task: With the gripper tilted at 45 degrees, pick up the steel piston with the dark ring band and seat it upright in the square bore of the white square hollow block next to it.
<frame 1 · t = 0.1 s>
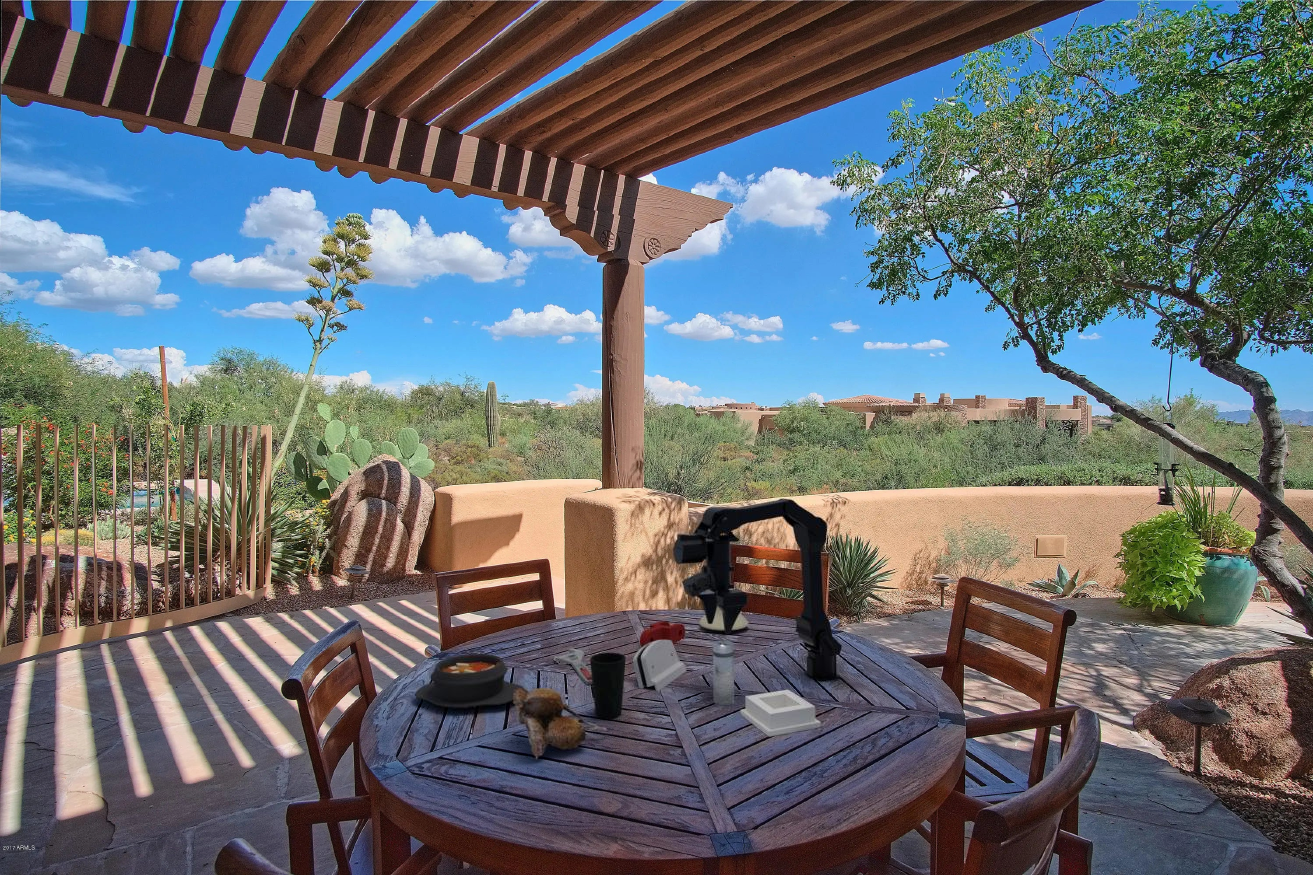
hand: (718, 628, 160), 15 cm above the table, tool pointing down, fingers open, 9 cm apart
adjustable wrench: (577, 670, 177), on the table
cup: (608, 714, 147), on the table
mechanical linkage: (659, 644, 199), on the table
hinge: (658, 679, 169), on the table
seed pod: (549, 747, 131), on the table
handbell: (723, 629, 214), on the table
casserole: (469, 700, 156), on the table
white square hollow block: (779, 720, 142), on the table
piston: (723, 701, 153), on the table
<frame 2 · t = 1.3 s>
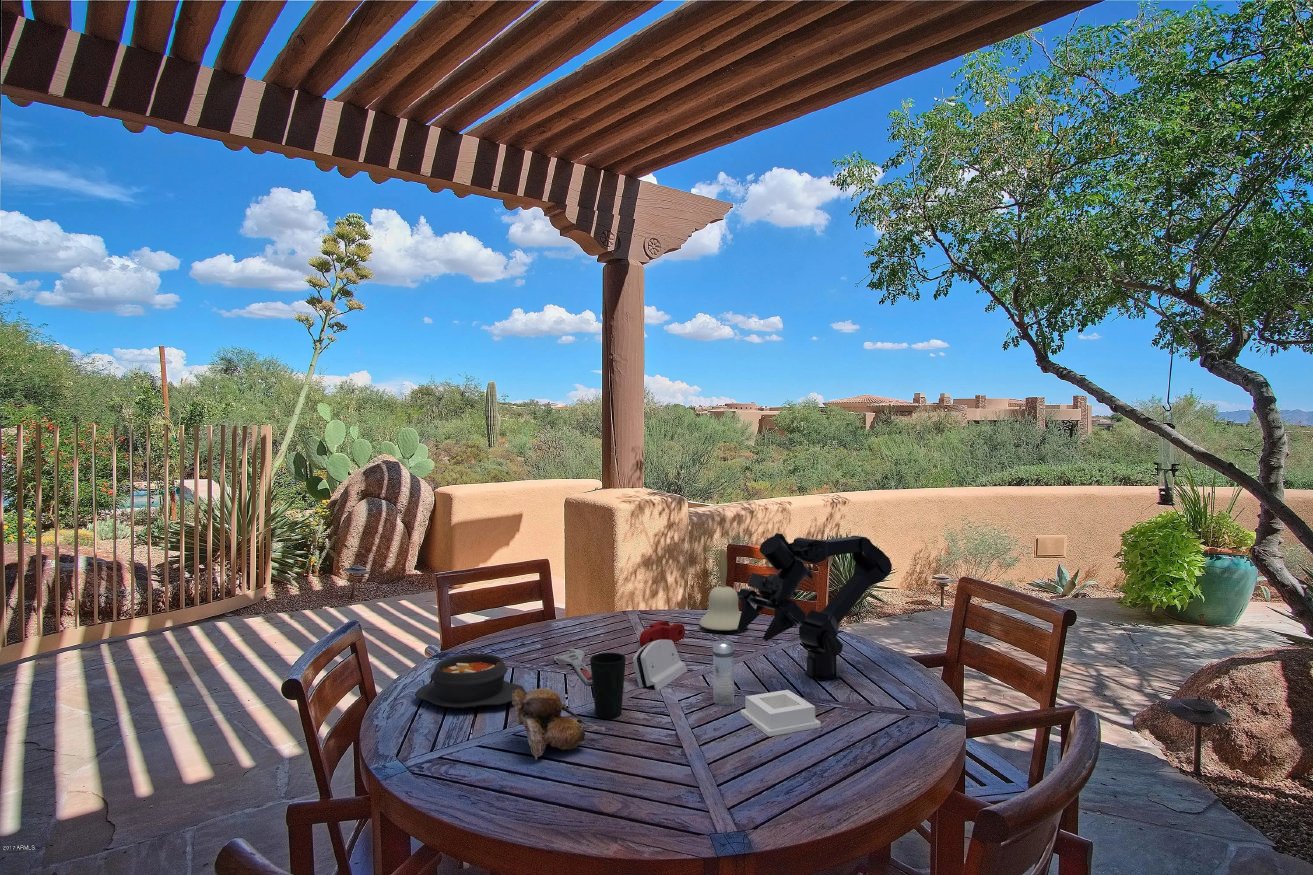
hand: (751, 635, 158), 14 cm above the table, tool tilted 45°, fingers open, 9 cm apart
nothing on the table moved.
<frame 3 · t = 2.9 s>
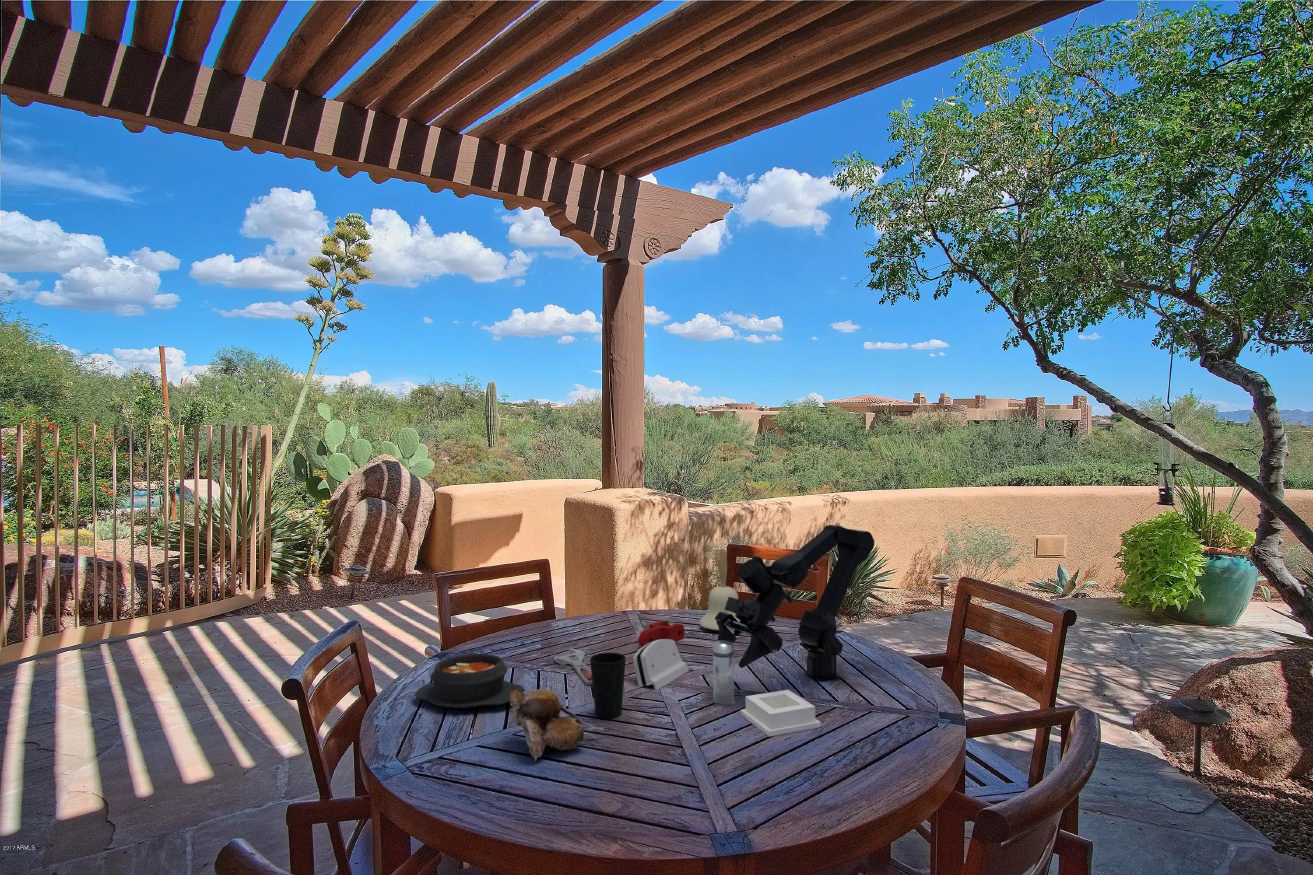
hand: (727, 660, 154), 9 cm above the table, tool tilted 45°, fingers open, 9 cm apart
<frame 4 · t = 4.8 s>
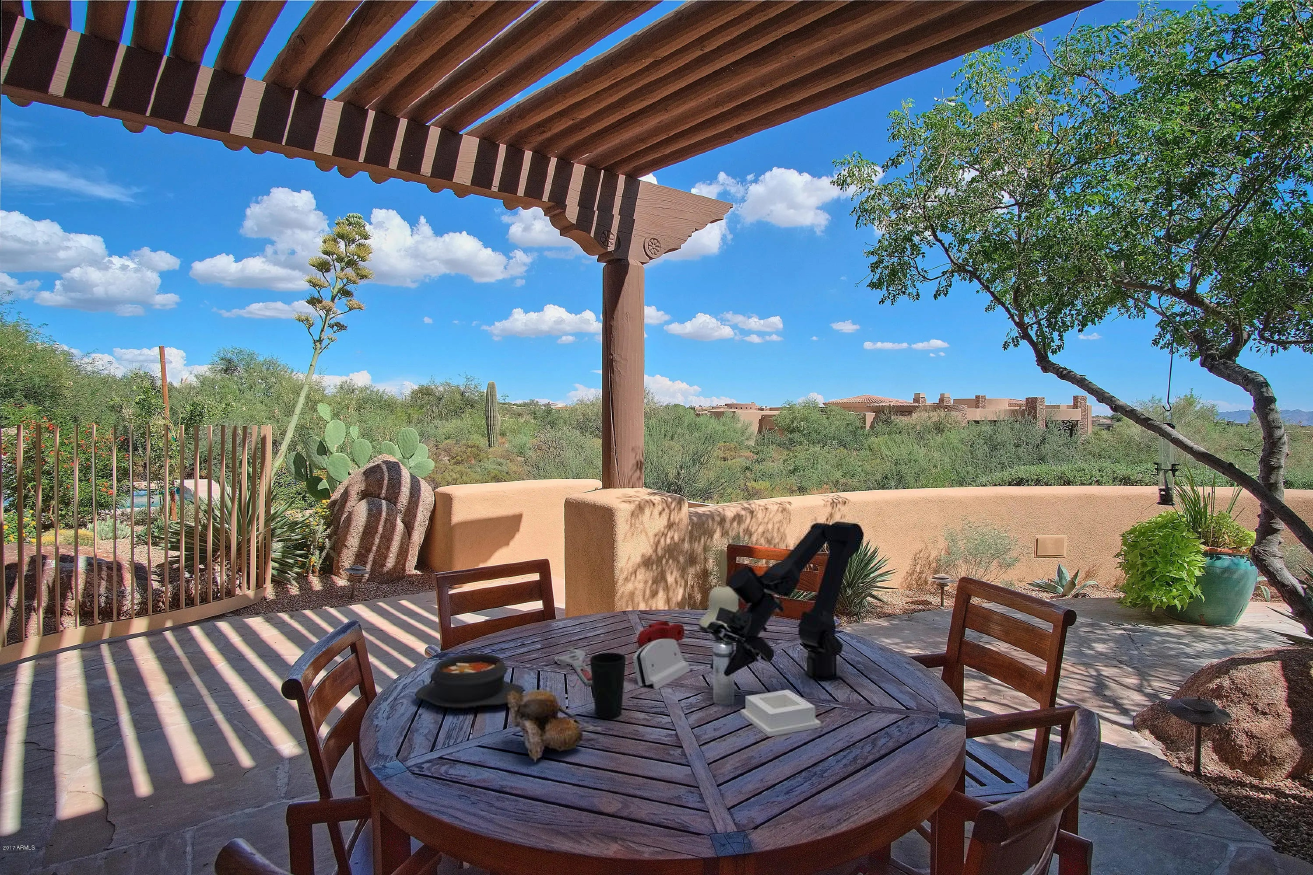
hand: (718, 672, 153), 7 cm above the table, tool tilted 45°, fingers closed on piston, 5 cm apart
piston: (723, 701, 153), on the table, touching gripper
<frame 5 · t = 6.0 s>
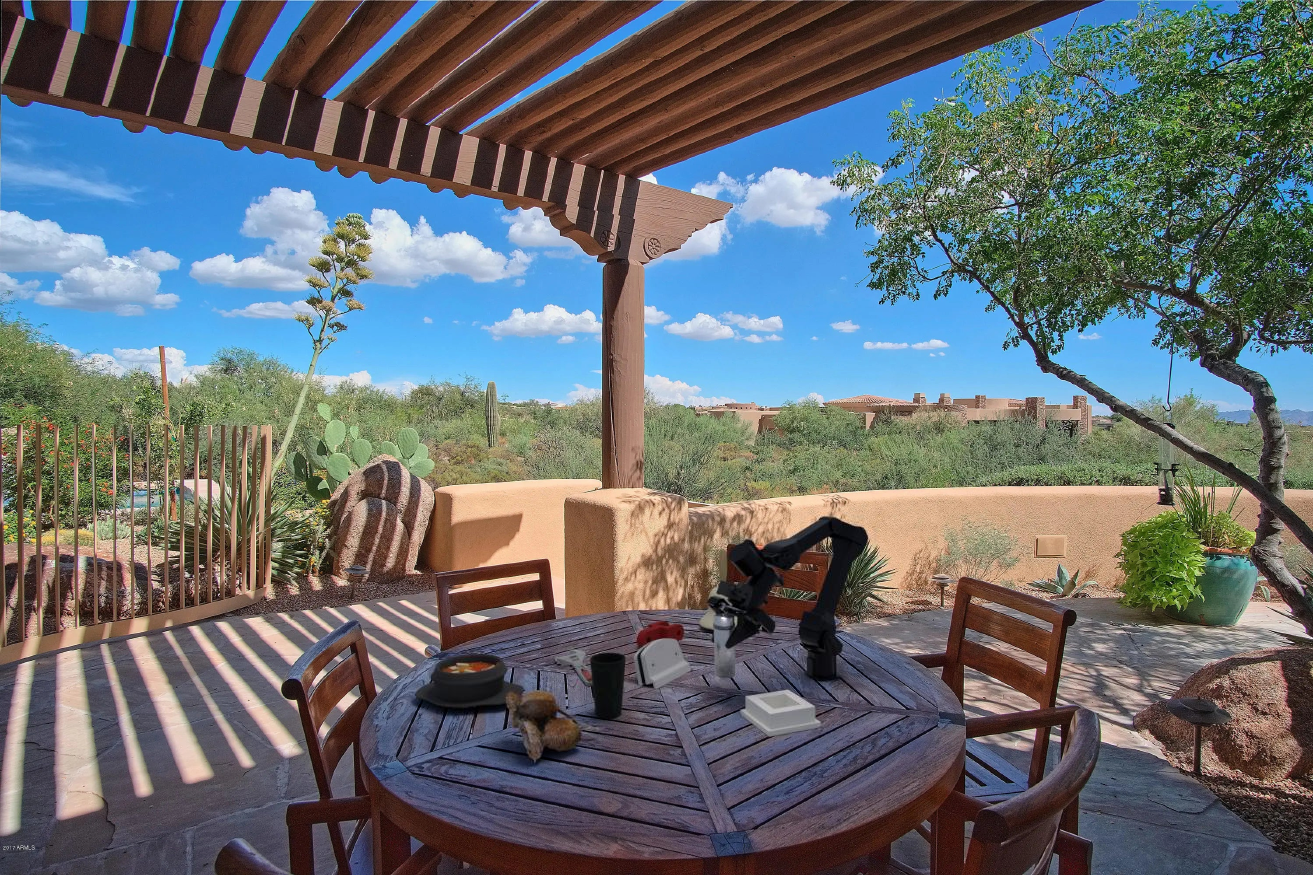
hand: (719, 645, 152), 13 cm above the table, tool tilted 45°, fingers closed on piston, 5 cm apart
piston: (725, 674, 153), point 6 cm above the table, touching gripper
when the fingers open (9 cm above the table, at t = 8.8 s): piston drops 1 cm, resting on white square hollow block.
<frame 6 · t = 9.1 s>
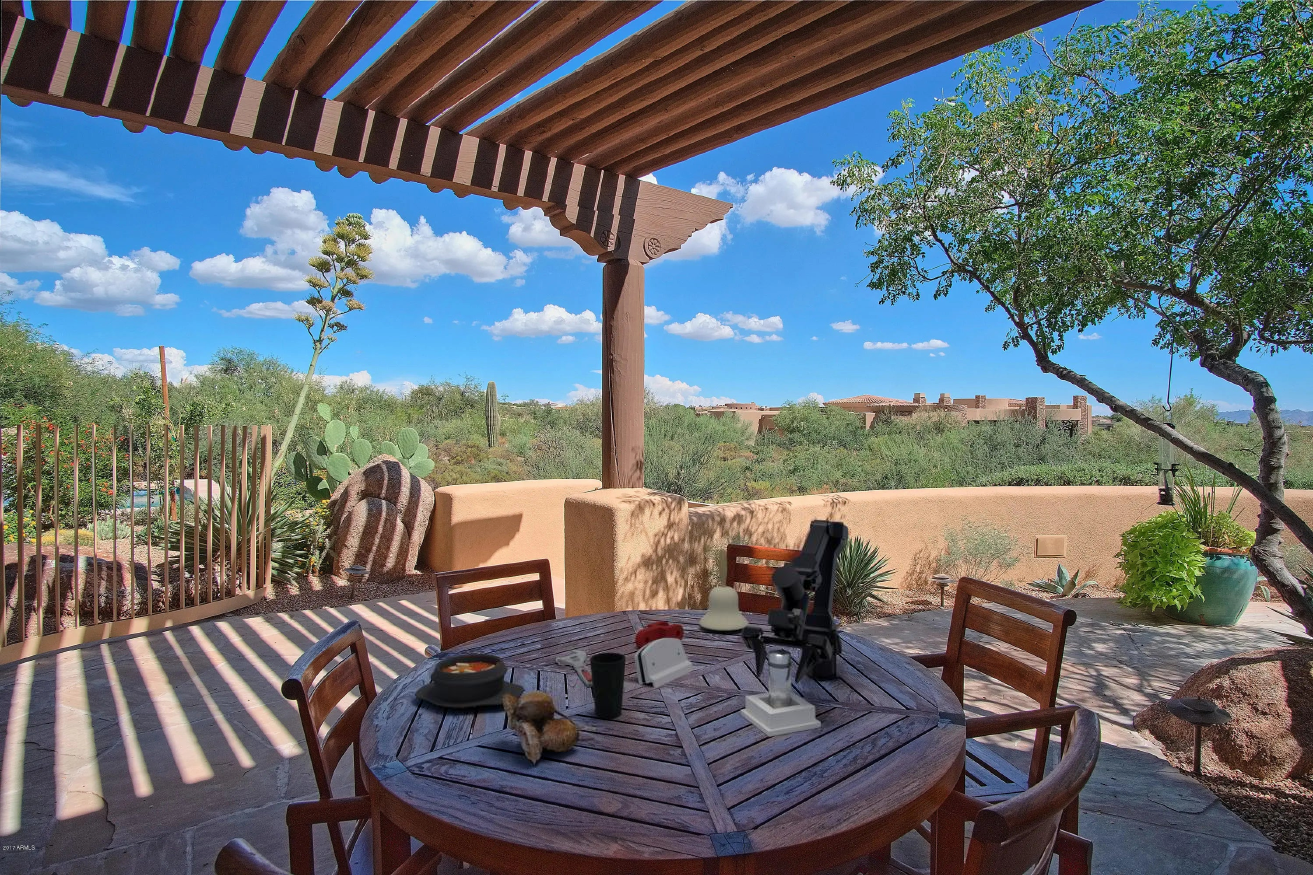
hand: (776, 679, 141), 9 cm above the table, tool tilted 45°, fingers open, 8 cm apart
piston: (779, 715, 142), point 1 cm above the table, touching white square hollow block
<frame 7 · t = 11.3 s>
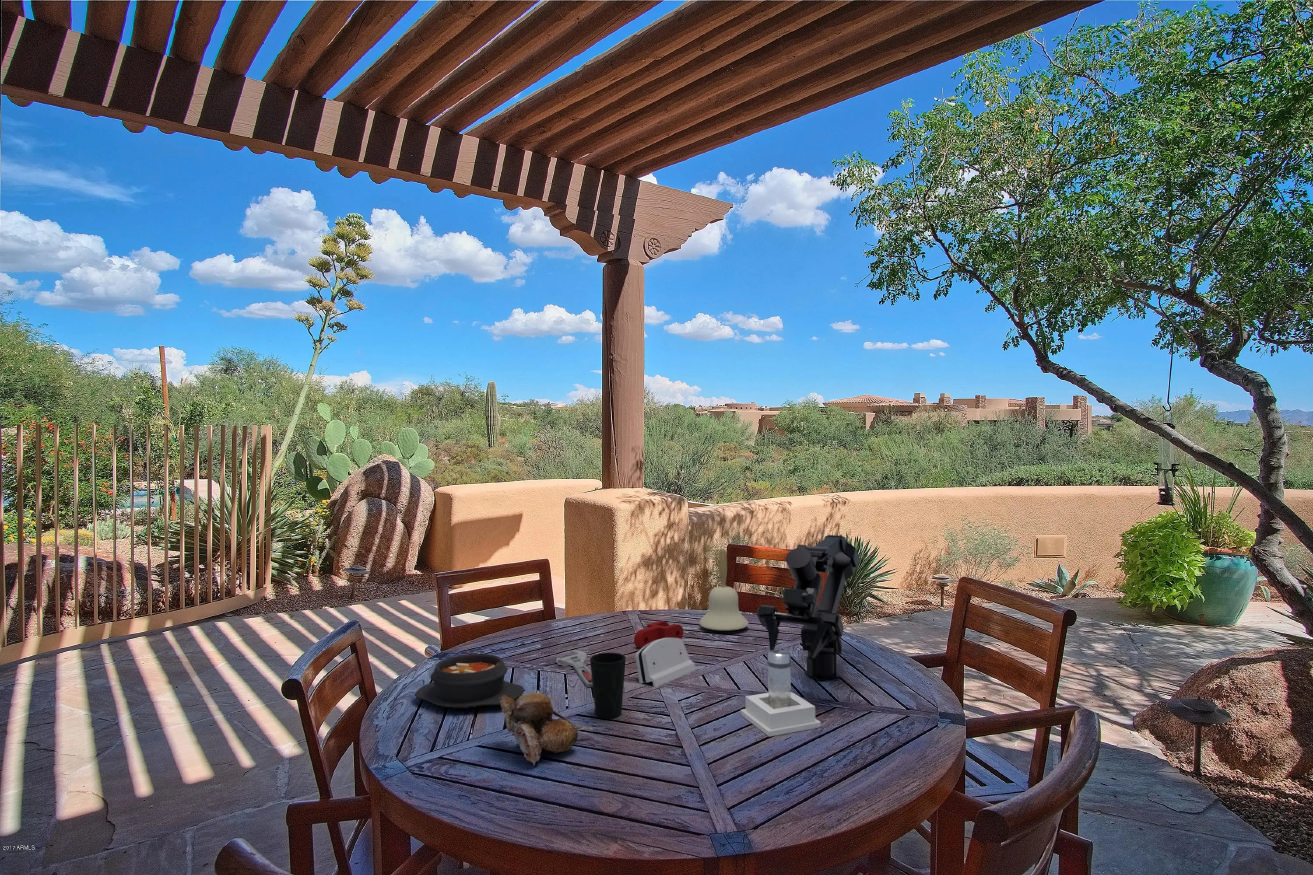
hand: (791, 654, 149), 12 cm above the table, tool tilted 45°, fingers open, 9 cm apart
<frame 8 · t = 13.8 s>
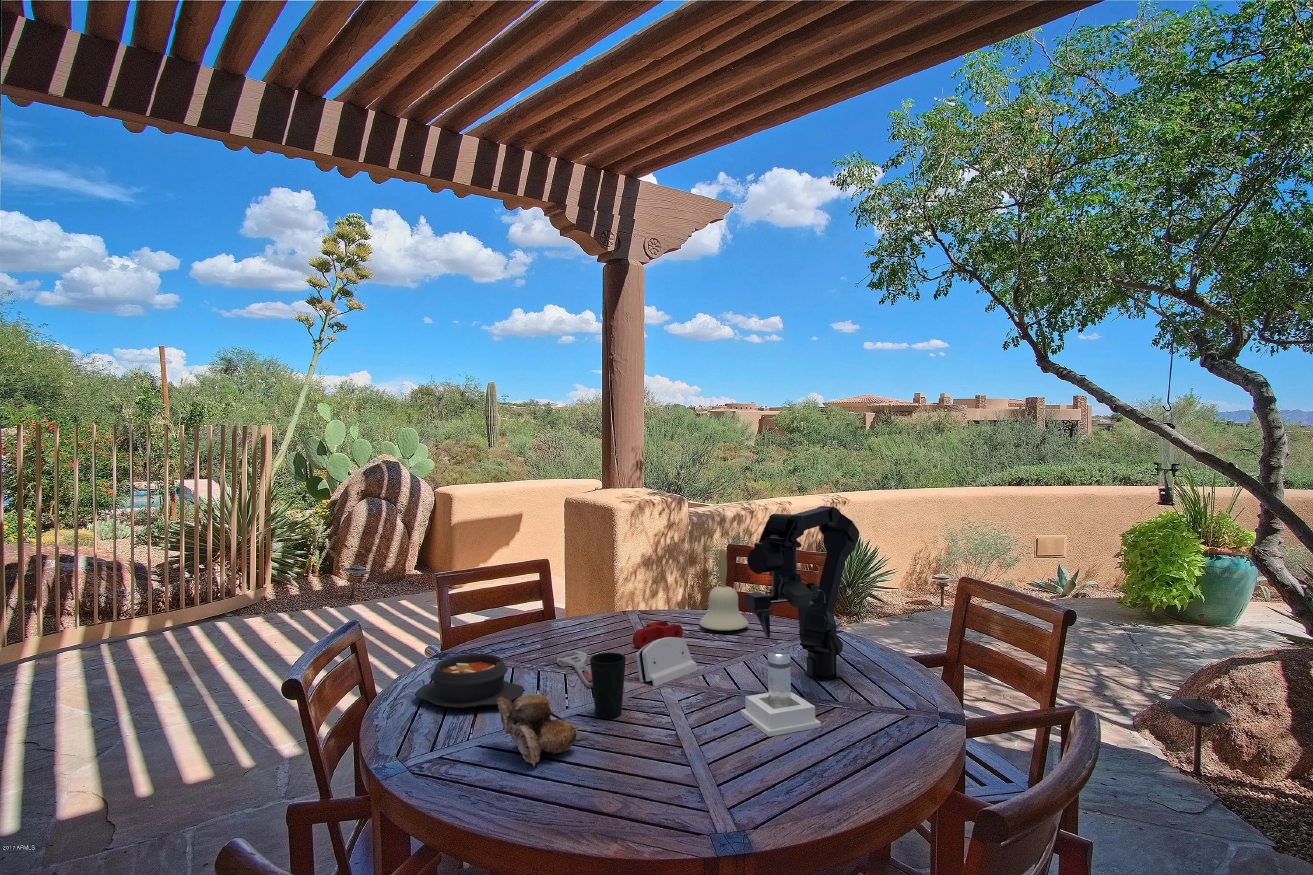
hand: (785, 635, 159), 13 cm above the table, tool pointing down, fingers open, 9 cm apart
at the end: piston 0.1 cm off-centre on the white square hollow block, point 1.0 cm above the white square hollow block's base; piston tilted 0°; the gripper is holding nothing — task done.
